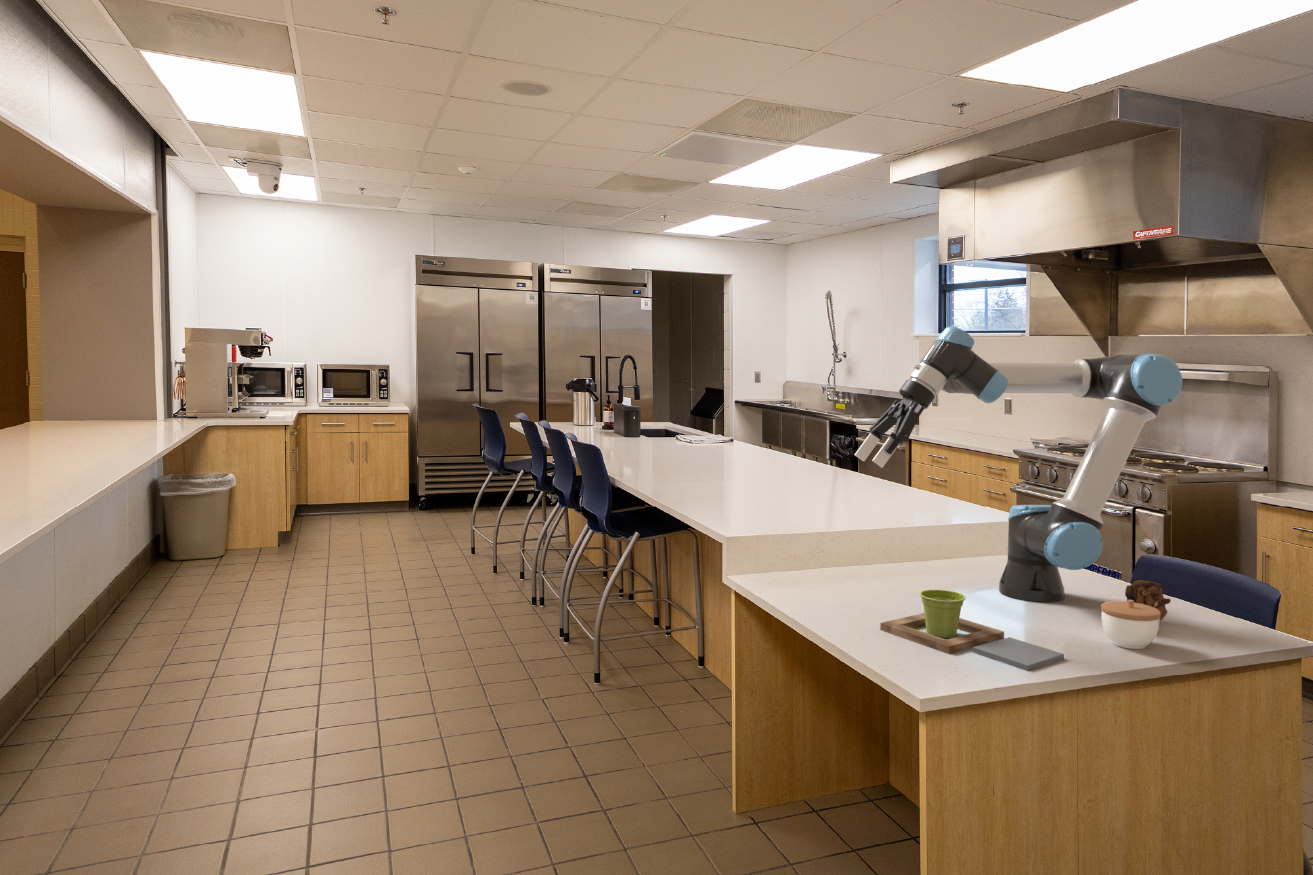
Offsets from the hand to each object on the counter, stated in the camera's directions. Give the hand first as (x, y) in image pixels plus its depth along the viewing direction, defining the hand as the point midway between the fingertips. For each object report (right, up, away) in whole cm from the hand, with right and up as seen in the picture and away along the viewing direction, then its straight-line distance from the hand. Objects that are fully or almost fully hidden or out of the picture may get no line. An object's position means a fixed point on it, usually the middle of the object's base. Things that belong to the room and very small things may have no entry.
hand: (867, 461), depth 189 cm
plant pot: (+13, -37, -13) cm, 41 cm away
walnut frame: (+13, -37, -13) cm, 41 cm away
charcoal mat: (+23, -38, -26) cm, 52 cm away
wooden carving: (+60, -37, -6) cm, 71 cm away
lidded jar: (+50, -38, -19) cm, 65 cm away
